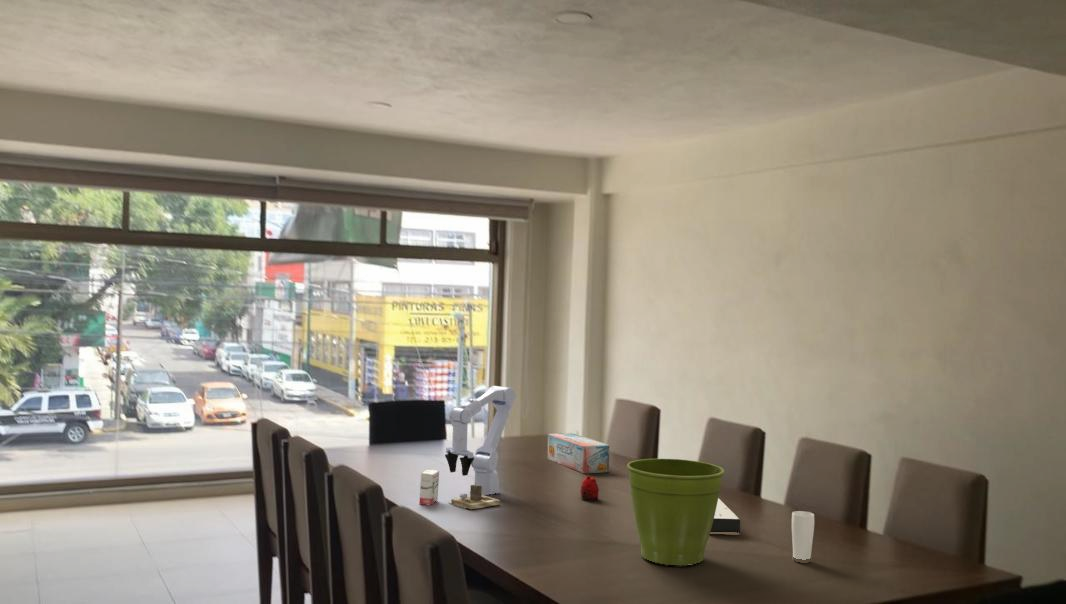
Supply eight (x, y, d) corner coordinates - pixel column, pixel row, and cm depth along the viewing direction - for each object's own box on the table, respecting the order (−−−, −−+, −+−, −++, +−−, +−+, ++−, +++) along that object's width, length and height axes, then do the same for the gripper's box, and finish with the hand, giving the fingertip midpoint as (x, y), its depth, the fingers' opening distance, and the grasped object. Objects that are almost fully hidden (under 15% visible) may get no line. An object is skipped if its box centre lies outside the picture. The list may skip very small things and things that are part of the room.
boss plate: (474, 498, 360) (475, 488, 360) (493, 504, 352) (493, 493, 352) (448, 503, 351) (448, 492, 351) (466, 508, 343) (467, 498, 343)
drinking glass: (787, 558, 289) (788, 510, 289) (808, 558, 290) (809, 511, 290) (795, 564, 283) (796, 516, 282) (816, 564, 283) (818, 516, 283)
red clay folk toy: (602, 499, 364) (603, 462, 364) (590, 502, 359) (592, 464, 359) (587, 496, 370) (588, 459, 369) (576, 499, 364) (577, 461, 364)
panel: (479, 498, 359) (480, 480, 359) (499, 504, 350) (500, 485, 350) (451, 503, 349) (451, 485, 349) (471, 509, 340) (472, 490, 340)
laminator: (739, 537, 315) (740, 519, 315) (704, 536, 315) (704, 518, 315) (717, 513, 349) (718, 496, 349) (685, 512, 349) (685, 496, 349)
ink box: (431, 505, 346) (432, 474, 346) (419, 504, 347) (419, 473, 347) (438, 500, 355) (439, 469, 355) (426, 499, 356) (427, 469, 356)
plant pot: (699, 579, 265) (702, 480, 264) (607, 561, 281) (610, 467, 280) (735, 556, 290) (738, 465, 290) (649, 540, 306) (651, 454, 305)
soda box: (610, 473, 420) (611, 445, 420) (583, 474, 414) (584, 446, 414) (571, 457, 457) (572, 431, 457) (545, 458, 452) (546, 432, 452)
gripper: (440, 437, 361) (439, 471, 361) (463, 442, 350) (462, 478, 350) (454, 435, 366) (453, 469, 366) (477, 440, 355) (476, 475, 355)
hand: (458, 473), depth 358 cm, fingers open, 7 cm apart
